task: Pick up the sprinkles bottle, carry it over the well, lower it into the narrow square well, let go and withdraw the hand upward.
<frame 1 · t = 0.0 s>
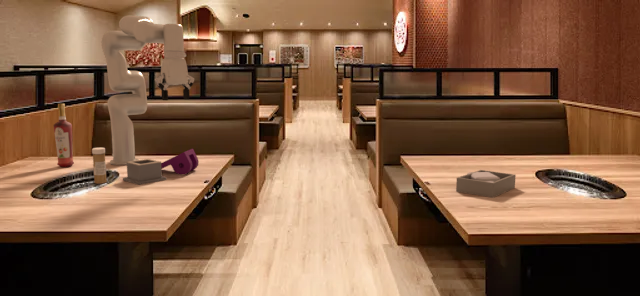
hand: (176, 99, 206), 31 cm above the table, tool pointing down, fingers open, 9 cm apart
liquor: (65, 166, 231), on the table
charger: (486, 189, 188), touching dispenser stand
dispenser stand: (485, 189, 188), on the table
well: (144, 179, 203), on the table
sprinkles bottle: (100, 183, 198), on the table
mounting bracket: (174, 172, 220), on the table
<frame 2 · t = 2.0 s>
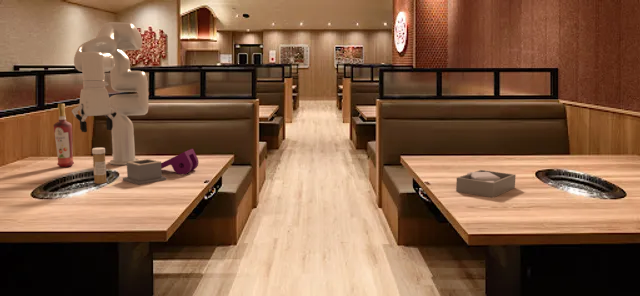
hand: (97, 130, 195), 20 cm above the table, tool pointing down, fingers open, 9 cm apart
nothing on the table moved.
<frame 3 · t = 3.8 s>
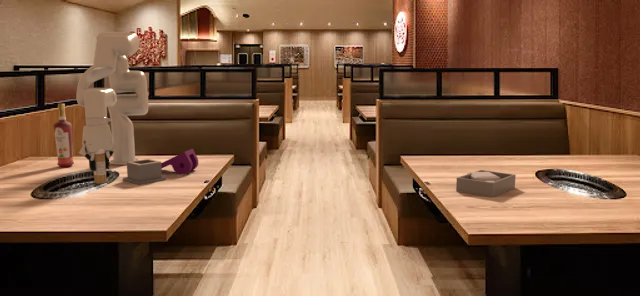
hand: (99, 169, 198), 5 cm above the table, tool pointing down, fingers closed on sprinkles bottle, 4 cm apart
sprinkles bottle: (100, 183, 198), on the table, touching gripper
everything else where it was.
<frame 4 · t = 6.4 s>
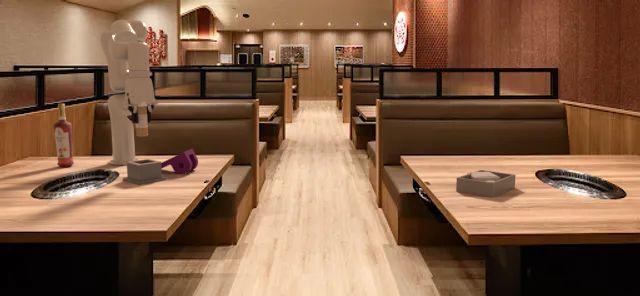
hand: (141, 122, 200), 23 cm above the table, tool pointing down, fingers closed on sprinkles bottle, 4 cm apart
sprinkles bottle: (142, 136, 201), point 17 cm above the table, touching gripper
everything else where it was.
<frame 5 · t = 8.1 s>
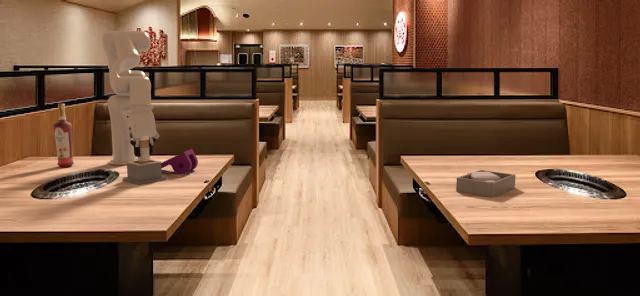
hand: (143, 155, 202), 10 cm above the table, tool pointing down, fingers closed on sprinkles bottle, 4 cm apart
sprinkles bottle: (144, 169, 203), point 4 cm above the table, touching gripper
everything else where it was.
when the fingers open (8 cm above the table, at t = 9.2 s): sprinkles bottle drops 2 cm, resting on well.
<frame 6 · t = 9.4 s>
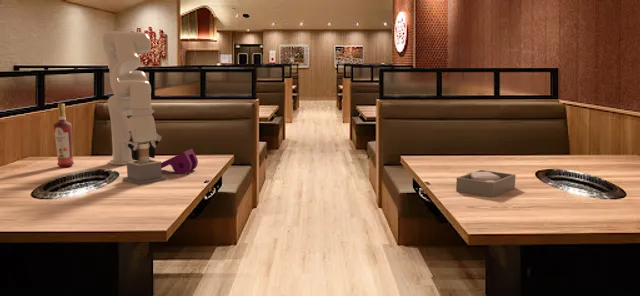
hand: (143, 158, 202), 9 cm above the table, tool pointing down, fingers open, 6 cm apart
sprinkles bottle: (144, 177, 203), point 1 cm above the table, touching well
everything else where it was.
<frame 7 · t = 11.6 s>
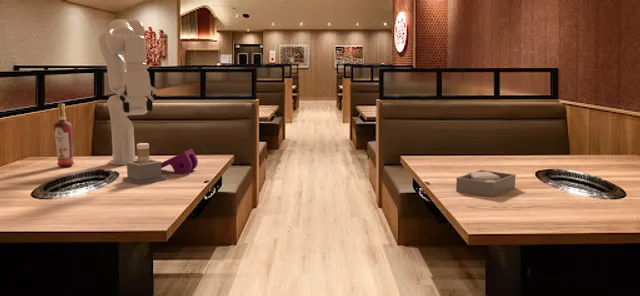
hand: (138, 111, 204), 27 cm above the table, tool pointing down, fingers open, 9 cm apart
nothing on the table moved.
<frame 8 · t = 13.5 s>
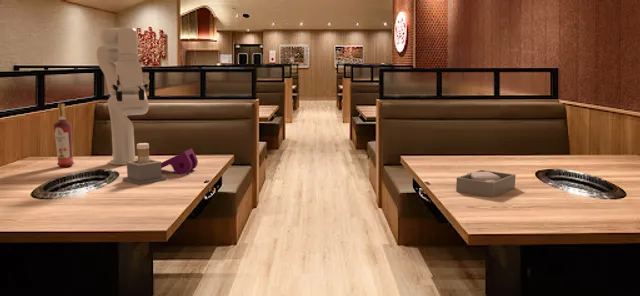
hand: (130, 100, 214), 30 cm above the table, tool pointing down, fingers open, 9 cm apart
nothing on the table moved.
at the end: sprinkles bottle 0.2 cm from the well (horizontally); sprinkles bottle point 0.8 cm above the table; sprinkles bottle tilted 0° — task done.
